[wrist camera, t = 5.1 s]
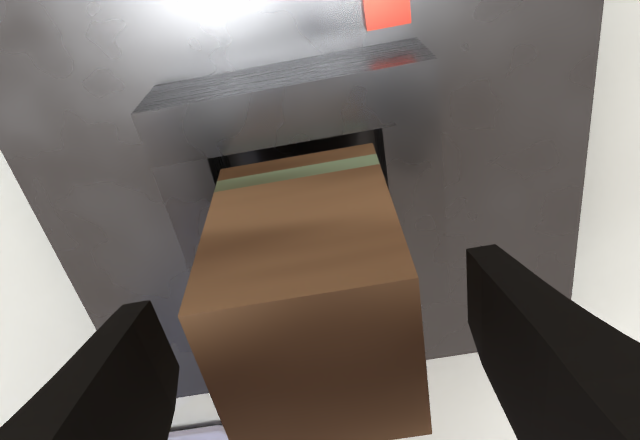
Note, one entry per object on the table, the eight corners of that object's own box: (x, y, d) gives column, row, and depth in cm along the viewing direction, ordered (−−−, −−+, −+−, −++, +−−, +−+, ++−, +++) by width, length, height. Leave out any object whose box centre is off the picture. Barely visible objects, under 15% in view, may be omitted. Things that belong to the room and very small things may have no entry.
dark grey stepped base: (555, 321, 22) (598, 387, 19) (141, 385, 22) (118, 458, 19) (607, -233, 12) (708, -280, 9) (-98, -87, 13) (-214, -88, 10)
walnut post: (387, 266, 15) (432, 433, 10) (256, 288, 15) (237, 462, 10) (372, 142, 13) (418, 278, 8) (220, 169, 13) (177, 316, 8)
